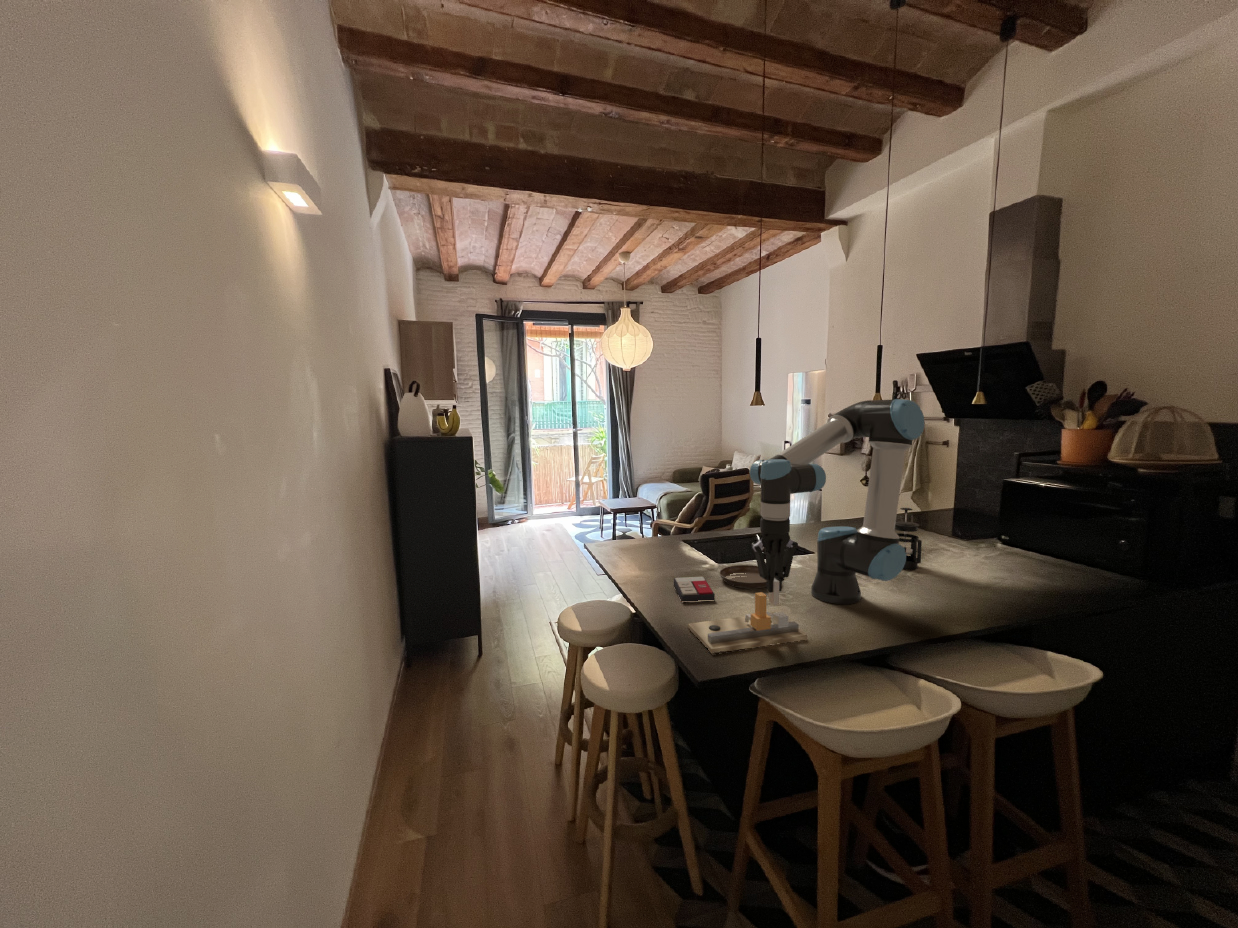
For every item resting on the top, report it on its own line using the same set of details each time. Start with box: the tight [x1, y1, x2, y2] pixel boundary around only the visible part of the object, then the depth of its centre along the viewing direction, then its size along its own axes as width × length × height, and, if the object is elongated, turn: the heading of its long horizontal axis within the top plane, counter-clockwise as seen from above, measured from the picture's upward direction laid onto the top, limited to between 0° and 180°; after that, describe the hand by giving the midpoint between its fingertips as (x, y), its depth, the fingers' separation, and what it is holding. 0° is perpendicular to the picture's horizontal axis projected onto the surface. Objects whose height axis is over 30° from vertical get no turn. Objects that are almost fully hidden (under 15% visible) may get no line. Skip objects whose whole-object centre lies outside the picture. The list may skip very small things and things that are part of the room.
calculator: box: [673, 576, 716, 602], centre depth 171 cm, size 11×4×15 cm
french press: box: [895, 507, 923, 571], centre depth 193 cm, size 12×9×23 cm
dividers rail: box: [708, 611, 800, 644], centre depth 138 cm, size 26×10×5 cm, turn 104°
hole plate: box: [687, 611, 808, 653], centre depth 140 cm, size 28×16×2 cm, turn 104°
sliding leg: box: [744, 591, 771, 631], centre depth 138 cm, size 4×10×11 cm, turn 14°
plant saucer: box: [719, 564, 775, 589], centre depth 183 cm, size 21×21×3 cm
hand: (773, 602), depth 136 cm, fingers closed
